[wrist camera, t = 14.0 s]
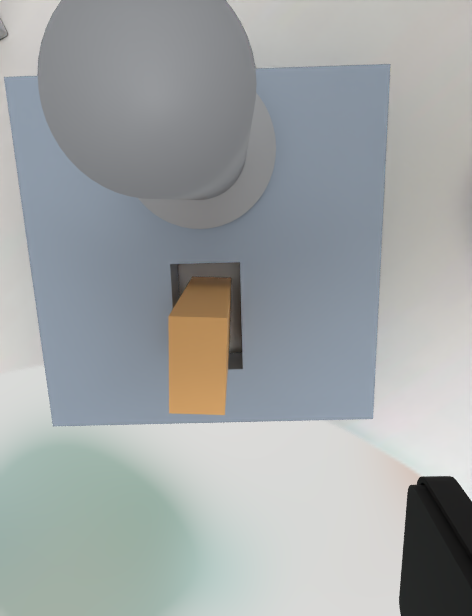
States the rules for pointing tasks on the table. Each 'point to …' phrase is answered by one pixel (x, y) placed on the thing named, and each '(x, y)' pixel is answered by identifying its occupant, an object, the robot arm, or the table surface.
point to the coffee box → (2, 30)
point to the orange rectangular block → (200, 347)
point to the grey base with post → (198, 211)
